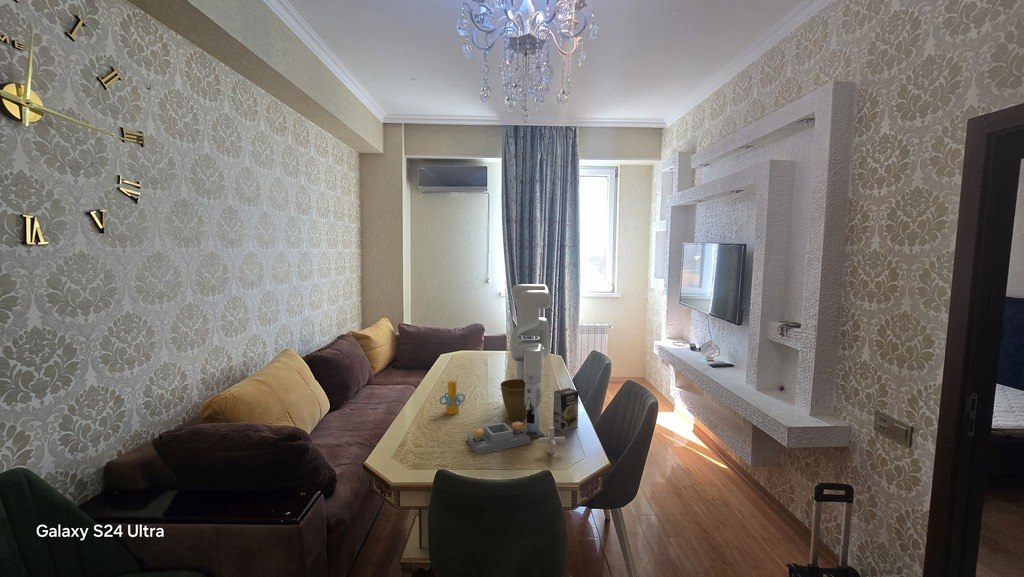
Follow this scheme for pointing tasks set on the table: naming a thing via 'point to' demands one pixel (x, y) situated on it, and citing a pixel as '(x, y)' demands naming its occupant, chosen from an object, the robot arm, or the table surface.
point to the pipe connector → (551, 440)
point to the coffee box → (565, 409)
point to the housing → (498, 438)
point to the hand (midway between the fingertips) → (532, 420)
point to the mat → (534, 434)
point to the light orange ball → (517, 427)
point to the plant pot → (514, 398)
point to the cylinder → (452, 399)
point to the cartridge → (534, 426)
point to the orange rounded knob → (478, 435)
